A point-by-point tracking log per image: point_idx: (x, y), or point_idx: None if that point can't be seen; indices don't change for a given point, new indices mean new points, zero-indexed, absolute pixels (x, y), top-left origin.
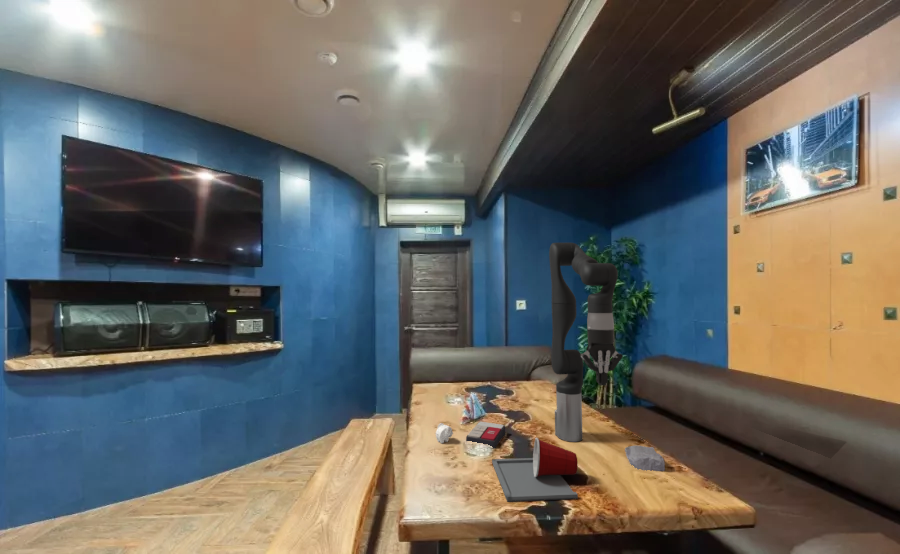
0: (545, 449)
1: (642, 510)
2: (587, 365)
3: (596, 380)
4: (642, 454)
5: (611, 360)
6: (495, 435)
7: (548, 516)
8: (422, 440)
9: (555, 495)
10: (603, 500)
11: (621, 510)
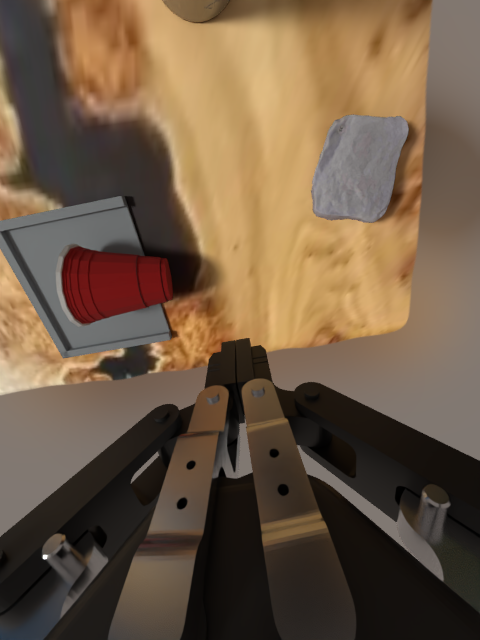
0: (92, 315)
1: None
2: (120, 441)
3: (209, 360)
4: (350, 188)
5: (368, 460)
6: None
7: (128, 377)
8: None
9: (136, 345)
10: (210, 334)
11: None
